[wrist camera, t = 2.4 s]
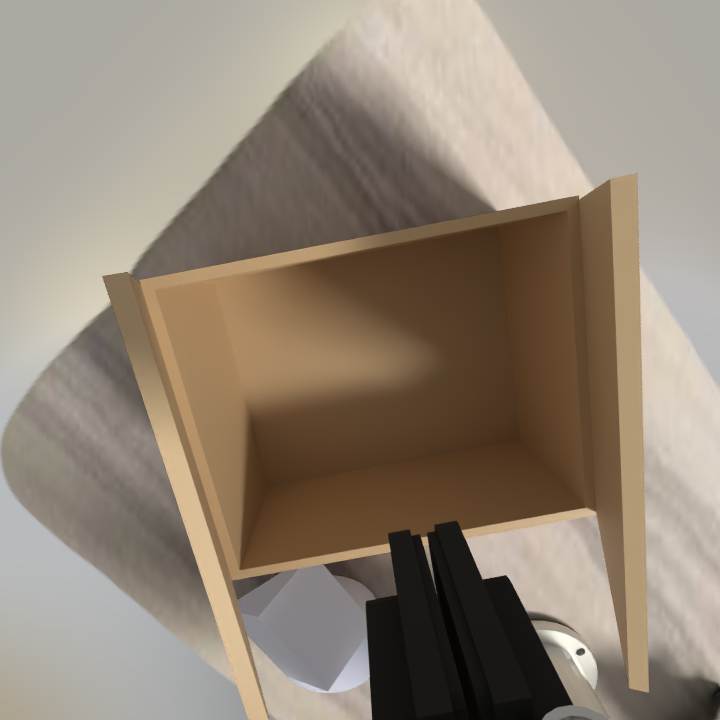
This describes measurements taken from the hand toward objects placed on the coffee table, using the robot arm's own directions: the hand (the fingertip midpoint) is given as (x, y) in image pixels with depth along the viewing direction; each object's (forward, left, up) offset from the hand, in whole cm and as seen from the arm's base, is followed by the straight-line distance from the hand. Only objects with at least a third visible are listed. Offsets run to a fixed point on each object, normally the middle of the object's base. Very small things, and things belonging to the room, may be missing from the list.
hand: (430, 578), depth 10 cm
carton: (0, 0, -23) cm, 23 cm away
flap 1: (0, +9, -8) cm, 12 cm away
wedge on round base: (-21, +9, -23) cm, 33 cm away
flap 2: (0, -9, -8) cm, 12 cm away
